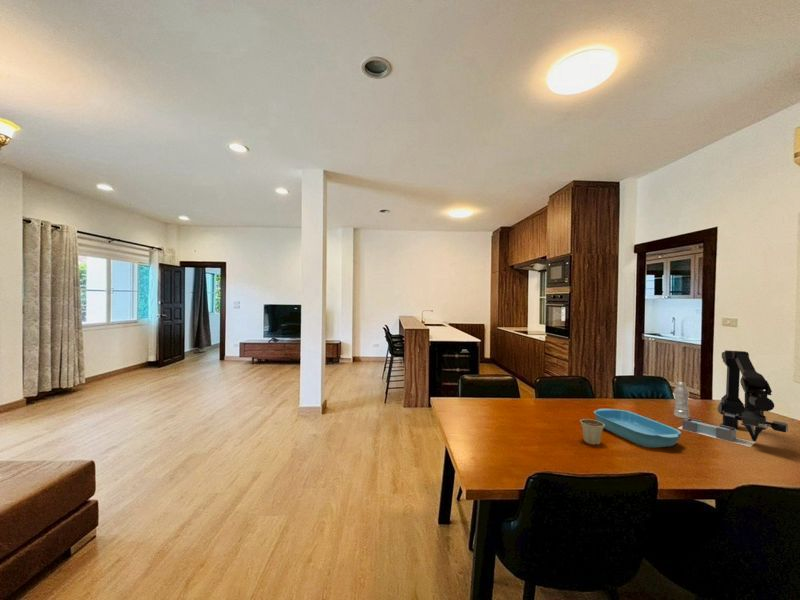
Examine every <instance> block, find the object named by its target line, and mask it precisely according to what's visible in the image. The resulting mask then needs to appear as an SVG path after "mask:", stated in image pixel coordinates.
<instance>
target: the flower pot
mask: <svg viewBox="0 0 800 600" xmlns="http://www.w3.org/2000/svg"><path fill="white" fill-rule="evenodd" d="M579 422H580V423H581V428H582V435H583V441H584V442H585V443H587V444H589V445H601V440H602V436H603V435H602V434H603V430H604V429H605V428H604V426H605V425H604V424H603V423H602V422H599V421H597V420H595V419H590V418H583V419H580V420H579Z"/></svg>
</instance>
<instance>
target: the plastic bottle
mask: <svg viewBox="0 0 800 600" xmlns="http://www.w3.org/2000/svg"><path fill="white" fill-rule="evenodd" d="M686 386H687V382H686V381H682V380H680V381H679V380H678V381H677V382H676V387H675V388H674V389H673V394H674V400H675V404H674V410H673V415H674V417H676V418H679V419H682V420H684V419H686V418H691V416H690V415H691V414H690V410H689V409H690V408H689V398H690V391H689V389H688V388H687V387H686Z"/></svg>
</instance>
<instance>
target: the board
mask: <svg viewBox="0 0 800 600" xmlns="http://www.w3.org/2000/svg"><path fill="white" fill-rule="evenodd" d="M677 430H683V429H682V425H681V426H678V427H677ZM683 431H684V430H683ZM685 431H687V430H685ZM687 432H688V431H687ZM689 432H691V431H689ZM691 433H692V432H691ZM693 433H694V434H700V435H702V436H707V437H710V438H714V439H718V440H722V441H727V442H730V443H734V444H738V445H741V446H745V447H749V448H751V447H752V446H753V445H754V444H755V443H756V441H753V440H752V441H751V440H748V439H743V438H739V437H736V439H734V440H733V441H728V440H724V439H720V438H716V436H712V435H708V434H704V433H700V432H697V433H695V432H693Z"/></svg>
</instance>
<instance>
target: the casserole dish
mask: <svg viewBox="0 0 800 600" xmlns="http://www.w3.org/2000/svg"><path fill="white" fill-rule="evenodd" d="M593 414H594V417H595V419H596V421H599V422H602V423H603V424H604V425H605V426H604V428H603V429H605V430H606V431H609V432H610V433H612V434H615V435H617V436H619V437H621V438H624V439H625V440H627V441H630V442H632V443H634V444H635V445H639V446H641V447H645V448H665V447H667V446H668V447H672V446H675V444H677V442H678V441H679V439H680V437H681V434H682V432H681V431H680V429H678V428H677V429H676V428H674V427H672V426H670V425H667V424H664V423H662V422H659V421H656V420H653V419H651V418H649V417H646V416H643V415H640V414H638V413H635V412H633V411H628V410H624V409H614V408H598V409H596V410H593Z"/></svg>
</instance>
